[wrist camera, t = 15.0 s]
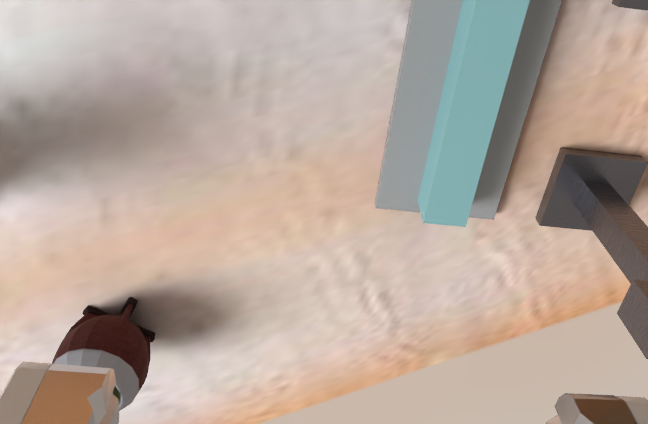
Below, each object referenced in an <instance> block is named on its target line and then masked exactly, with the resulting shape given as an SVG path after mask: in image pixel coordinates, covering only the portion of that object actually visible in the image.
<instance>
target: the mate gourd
mask: <svg viewBox="0 0 648 424" xmlns="http://www.w3.org/2000/svg"><path fill="white" fill-rule="evenodd" d="M137 302H138V301H137V300H136V299H134V298H132V297H129V299H128V300H127V302H126V304H125V306H124V307H123V309H122V311H121V313H120V314H119V315H111V314H108V313H106V312H103V311H101V310H99V309H96V308H94V307H91V306H87V307H86V308H85V309H84V311H83V315H84V316H83V317H82V318H81V319H80V320H79V321H78V322H77V323H76V324H75V325H74V326H72V327H71V329H70V330H69V332H68V333H67V335H66V336H65V338H64V340H63V341H62V343H61V345H60V347H59V348H58V350H57V352H56V354H55V357H54V359H53V362H52V364H64V365H76V366H88V367H100V368H111V369H114V372H115V378H116V384H115V387H114V390H113V393H112V394H113V395H114V396H116V397H117V398H118V401H119V411H120V410H121V409H123V408H125V407H126V406H128V405H129V404H131V403H132V401H133V400H134V398H135V396H136V395H137V393H138V392H139V390H140V389H141V387H142V385H143V384H144V382H145V379H146V377H147V373H148V367H149V362H150V342H153V340H154V339H155V333H154V332H151V331H149V330H147V329H144V328H142V327H140V326H137V325H135V324H134V323H133V322H132V321H131V320H130V319H129V317H130V316H131V314H132V312H133V310H134V309H135V307H136V304H137Z"/></svg>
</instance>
